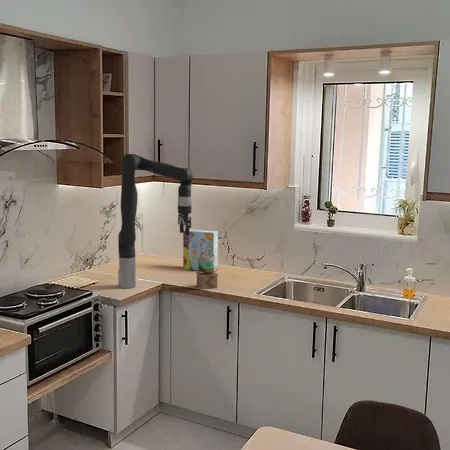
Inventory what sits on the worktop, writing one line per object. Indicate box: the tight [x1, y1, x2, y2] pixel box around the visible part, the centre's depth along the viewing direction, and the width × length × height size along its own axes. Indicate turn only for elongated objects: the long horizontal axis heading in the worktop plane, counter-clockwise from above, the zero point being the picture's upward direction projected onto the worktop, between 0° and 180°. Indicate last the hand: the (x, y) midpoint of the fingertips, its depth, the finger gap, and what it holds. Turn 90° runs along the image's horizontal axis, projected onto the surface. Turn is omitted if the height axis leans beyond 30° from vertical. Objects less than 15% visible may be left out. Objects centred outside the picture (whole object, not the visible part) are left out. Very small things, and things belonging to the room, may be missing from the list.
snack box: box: [182, 229, 219, 272], centre depth 367 cm, size 22×9×26 cm, turn 70°
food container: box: [197, 255, 215, 275], centre depth 323 cm, size 12×6×10 cm, turn 137°
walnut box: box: [195, 271, 219, 290], centre depth 325 cm, size 10×10×8 cm
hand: (184, 233), depth 312 cm, fingers open, 8 cm apart
